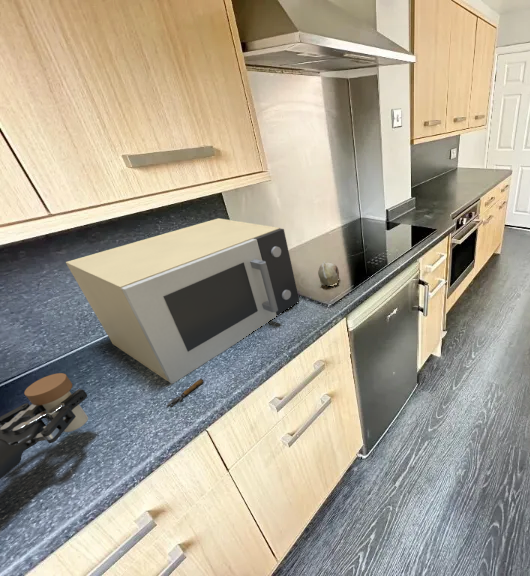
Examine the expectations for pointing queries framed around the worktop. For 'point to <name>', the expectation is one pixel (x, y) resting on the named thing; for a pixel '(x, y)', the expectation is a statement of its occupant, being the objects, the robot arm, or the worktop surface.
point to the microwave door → (203, 307)
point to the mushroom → (55, 397)
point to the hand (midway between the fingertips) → (73, 391)
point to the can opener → (186, 392)
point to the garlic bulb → (328, 274)
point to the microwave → (162, 257)
